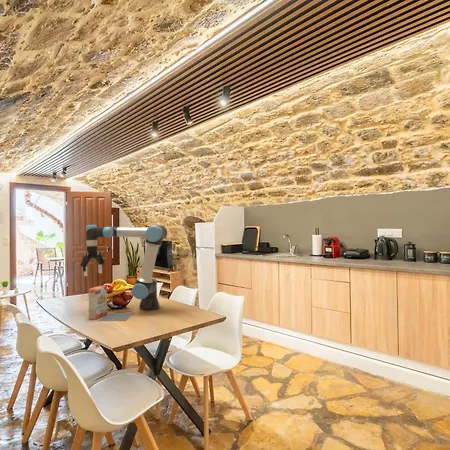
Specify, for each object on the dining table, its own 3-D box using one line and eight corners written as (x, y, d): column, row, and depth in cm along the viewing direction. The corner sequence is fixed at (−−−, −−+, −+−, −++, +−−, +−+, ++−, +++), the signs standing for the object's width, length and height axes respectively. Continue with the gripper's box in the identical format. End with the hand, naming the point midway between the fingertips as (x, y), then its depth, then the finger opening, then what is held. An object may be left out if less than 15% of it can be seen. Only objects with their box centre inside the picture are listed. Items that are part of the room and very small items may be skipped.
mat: (135, 313, 246) (134, 312, 246) (125, 320, 226) (125, 320, 226) (109, 313, 247) (109, 313, 247) (97, 321, 227) (97, 320, 227)
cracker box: (96, 319, 230) (95, 289, 230) (88, 319, 231) (87, 288, 231) (107, 314, 244) (107, 285, 244) (100, 314, 245) (99, 285, 245)
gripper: (101, 244, 263) (102, 272, 263) (74, 247, 241) (75, 276, 241) (108, 244, 260) (109, 272, 260) (81, 246, 238) (82, 277, 238)
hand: (93, 274), depth 250 cm, fingers open, 13 cm apart
